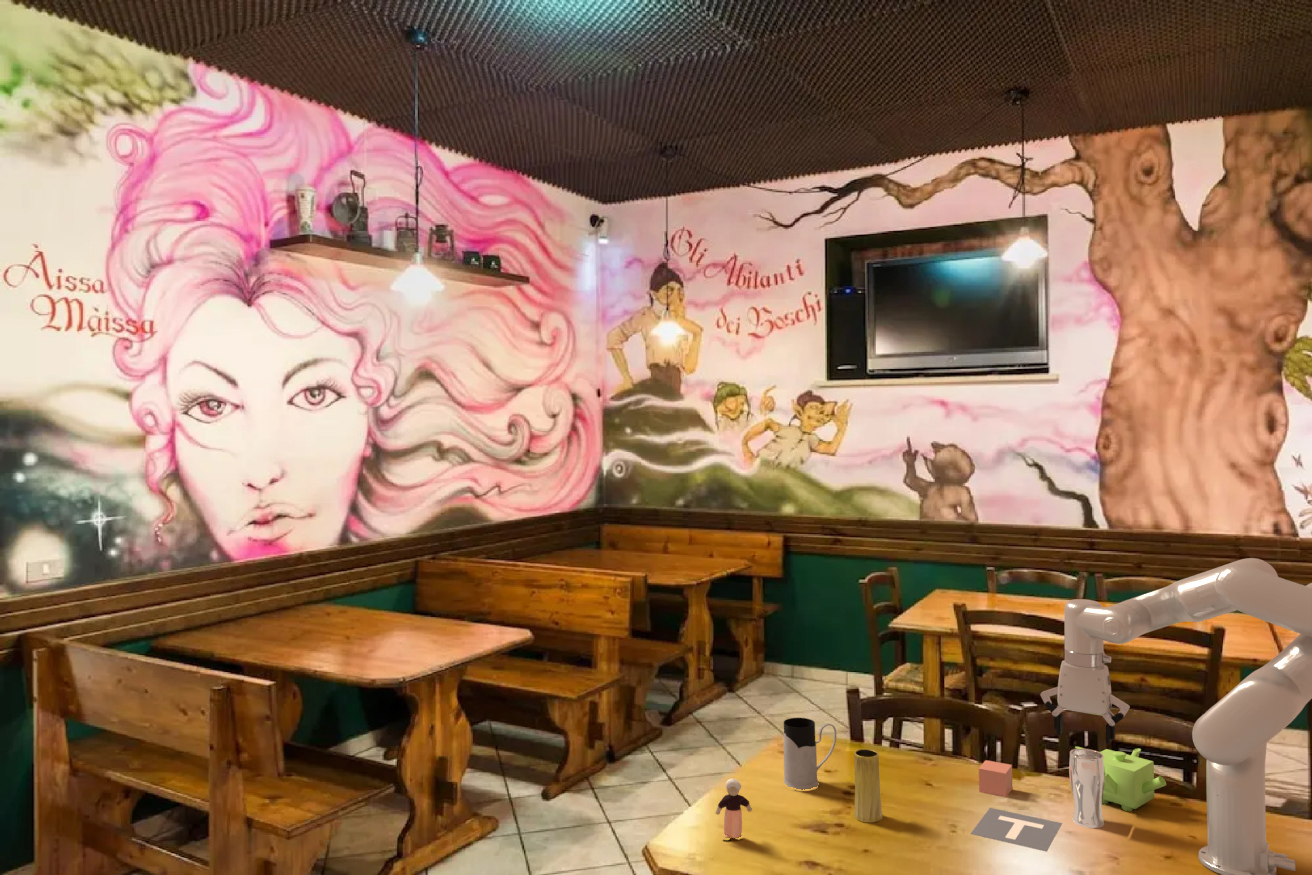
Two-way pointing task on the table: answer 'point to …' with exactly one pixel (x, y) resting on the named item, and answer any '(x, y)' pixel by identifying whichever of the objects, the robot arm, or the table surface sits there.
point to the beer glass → (1087, 786)
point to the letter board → (1017, 829)
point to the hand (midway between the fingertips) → (1084, 737)
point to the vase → (867, 786)
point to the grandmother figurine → (733, 809)
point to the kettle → (1129, 779)
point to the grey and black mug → (802, 753)
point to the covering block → (995, 778)
